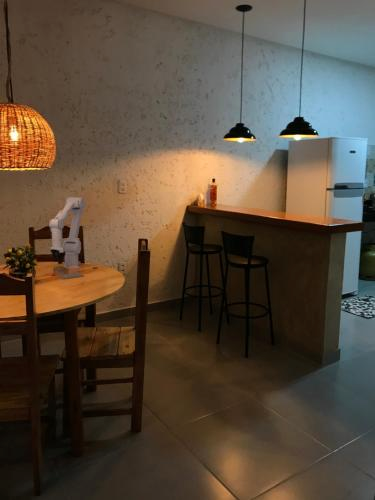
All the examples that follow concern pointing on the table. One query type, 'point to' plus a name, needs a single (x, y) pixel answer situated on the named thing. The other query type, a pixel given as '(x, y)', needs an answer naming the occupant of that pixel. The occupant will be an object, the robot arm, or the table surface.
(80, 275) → the baseplate
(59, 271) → the walnut brick
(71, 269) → the terracotta brick
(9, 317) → the table surface
